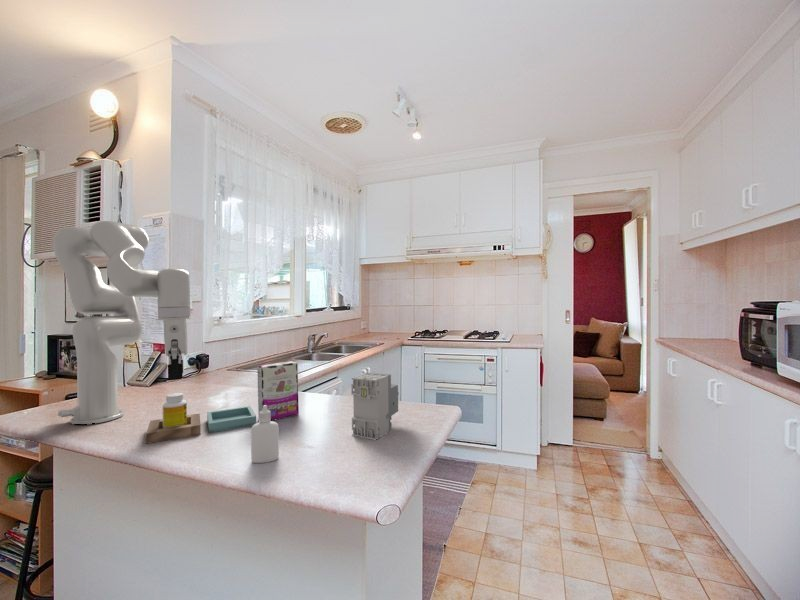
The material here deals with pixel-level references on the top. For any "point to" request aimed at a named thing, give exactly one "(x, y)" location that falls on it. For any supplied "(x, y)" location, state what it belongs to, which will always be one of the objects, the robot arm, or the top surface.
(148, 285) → the robot arm
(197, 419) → the brown rectangular holder box
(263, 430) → the eye dropper bottle
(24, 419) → the top surface
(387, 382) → the circuit breaker
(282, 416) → the candy bar box
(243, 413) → the tray
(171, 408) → the supplement bottle
